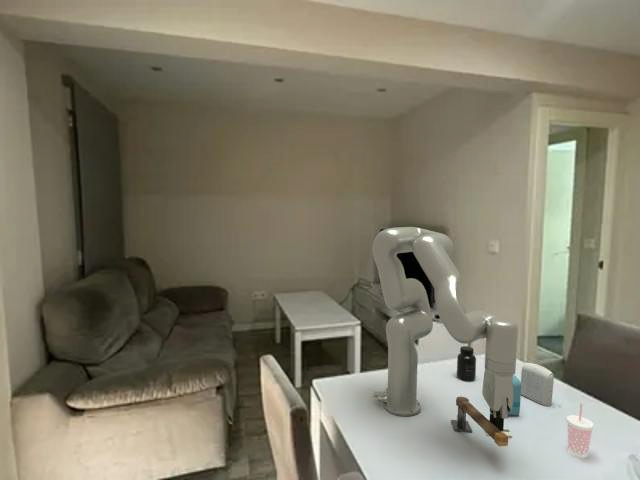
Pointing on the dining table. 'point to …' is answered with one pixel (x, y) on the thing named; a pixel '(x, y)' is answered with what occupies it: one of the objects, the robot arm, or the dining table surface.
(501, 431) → the label tile
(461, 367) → the supplement bottle
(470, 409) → the swing bar
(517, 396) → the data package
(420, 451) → the dining table surface
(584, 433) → the beverage cup
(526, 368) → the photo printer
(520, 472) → the dining table surface
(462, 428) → the post
